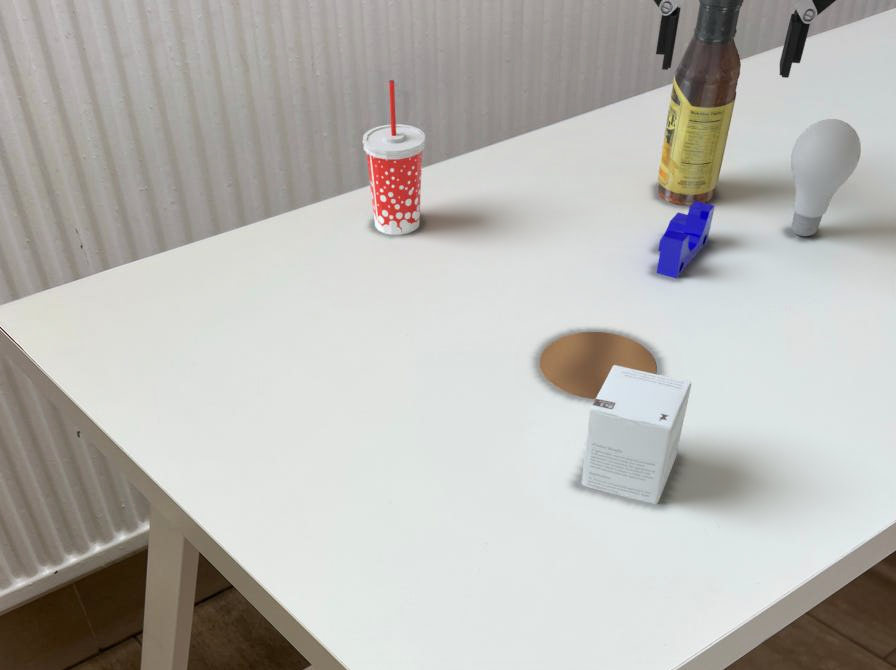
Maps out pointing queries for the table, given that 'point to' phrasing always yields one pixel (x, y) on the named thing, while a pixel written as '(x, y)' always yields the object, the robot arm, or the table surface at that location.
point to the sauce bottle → (701, 106)
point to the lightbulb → (821, 170)
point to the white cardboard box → (634, 433)
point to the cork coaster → (591, 361)
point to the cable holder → (684, 238)
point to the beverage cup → (395, 173)
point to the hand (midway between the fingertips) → (724, 67)
